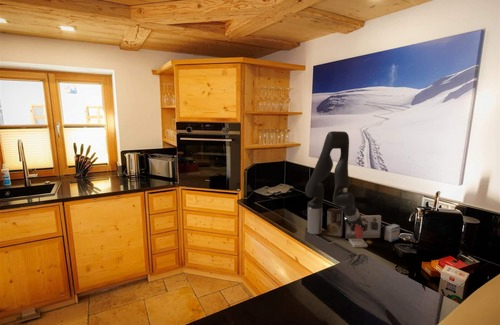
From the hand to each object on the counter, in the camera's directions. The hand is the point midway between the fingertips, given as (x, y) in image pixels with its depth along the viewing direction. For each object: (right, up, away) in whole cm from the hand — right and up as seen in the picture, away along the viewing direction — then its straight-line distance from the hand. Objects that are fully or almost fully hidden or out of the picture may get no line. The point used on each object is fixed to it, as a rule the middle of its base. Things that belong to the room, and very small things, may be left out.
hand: (360, 228), depth 156 cm
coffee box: (-10, -7, +15) cm, 20 cm away
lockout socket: (-1, -9, 0) cm, 9 cm away
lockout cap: (-1, -4, -1) cm, 5 cm away
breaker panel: (+5, -8, +8) cm, 12 cm away
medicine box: (+22, -8, +6) cm, 24 cm away
